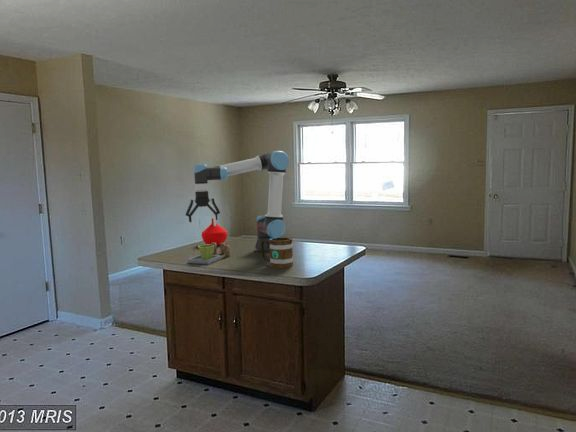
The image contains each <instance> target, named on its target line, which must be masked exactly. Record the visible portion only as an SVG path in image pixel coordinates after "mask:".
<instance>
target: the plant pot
mask: <svg viewBox="0 0 576 432" xmlns="http://www.w3.org/2000/svg"><path fill="white" fill-rule="evenodd" d="M213 247H214V245H205V244H202V245H201V244H200V245H198V246H197V248H198V250H199V255H201V259H202V260H209V259H212V253H213Z"/></svg>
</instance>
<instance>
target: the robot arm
mask: <svg viewBox="0 0 576 432" xmlns="http://www.w3.org/2000/svg"><path fill="white" fill-rule="evenodd" d="M289 165H290V157H289V156H288V154H287V153H286V152H285V151H283V150H274V151H267V152H266V153H263V154H260V155H256V156H255V157H253V158H249V159H244V160H239V161H235V162H229V163H225V164H221V165H216V166H210V167H208V166H207V164H195V165H194V166H193V175H194V188H195V192H194V193H195V194H194V195H195V199H190V200H189V205H188V207H187V210H186V212H185V214H184V215H185V216H186V217H188V221H189V223H190V228H192V229H194V217H193V215H194V214H195V212H196V210H197V209H198V208H202V207H207V208H208V209H209V210H210V211H211V212H212V213H213V215H212V216H213V217H212V218H213V220H214V226H216V223H217V221H218V215H219V214H221V210H220V209H219V207H218V206H217V204H216V202H215V198H209V181H220V180H221V181H224V180H227V179H228V177H229V176H235V175H240V174H244V173H248V172H252V171H257V170H258V171H264V170H266V171H267V173H268V175H269V179H268V180H269V181H268V182H269V183H268V184H269V185H268V201H267V202H268V203H267V213H266V214H265V215H258V216H257V217H256V237H257V239H256V242H255V245H254V251H256V252H259V253H262V248H261V243H262V241H263V240H267V241H269V239H270V238H277V237H281V236H282V237H283V234H285V231H286V225H285V222H284V215H283V214H282V206H283V205H282V204H283V203H282V202H283V186H284V176H285V175H286V174H287V168H288V166H289ZM210 202H211V203H212V206H213V207H212V206H211V204H209V203H210ZM193 204H195V206H194V207H193ZM192 208H193V209H192ZM264 253H270V245H268V244H267V243H266V242H264Z"/></svg>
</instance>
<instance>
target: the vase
mask: <svg viewBox="0 0 576 432" xmlns="http://www.w3.org/2000/svg"><path fill="white" fill-rule="evenodd" d="M227 238H228V231H227V229H225V228H223V227H222V226H221V225H219V224H218V223H217V222H216V226H214V220H213V217H212V218H211V223H210V225H208V226H207V227H206V228H205V229H204V230H202V232H201V239H202V241H203V243H205V244H210V245H211V243H216V247H218V246H220V243H226V241H227Z"/></svg>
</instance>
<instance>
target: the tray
mask: <svg viewBox="0 0 576 432" xmlns="http://www.w3.org/2000/svg"><path fill="white" fill-rule="evenodd" d="M221 260H222V255H221V254H220V255H219V254H218V255H217V254H214V255H212V259H209V260H202V259H201V254H198V255H195V256H192V257H189V258H188V259H187V263H188V264H195V265H196V264H197V265H212V264H214V263H216V262H218V261H221Z"/></svg>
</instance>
